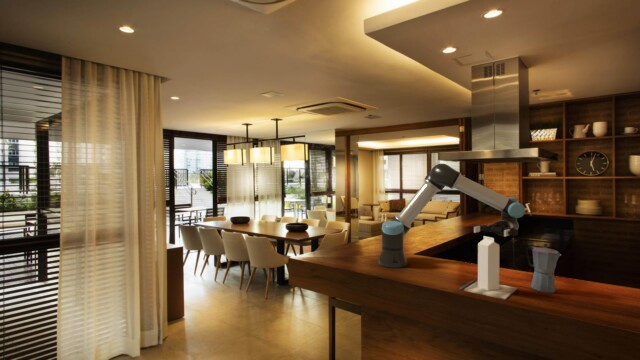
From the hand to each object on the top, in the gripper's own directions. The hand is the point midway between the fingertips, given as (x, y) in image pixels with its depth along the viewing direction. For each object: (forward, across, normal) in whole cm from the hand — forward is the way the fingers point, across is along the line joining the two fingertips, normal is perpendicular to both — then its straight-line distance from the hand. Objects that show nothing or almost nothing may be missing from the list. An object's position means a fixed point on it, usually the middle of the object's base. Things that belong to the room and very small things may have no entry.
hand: (489, 231), depth 166 cm
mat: (+17, -5, -23) cm, 29 cm away
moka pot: (0, -22, -22) cm, 32 cm away
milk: (+16, -6, -22) cm, 28 cm away
